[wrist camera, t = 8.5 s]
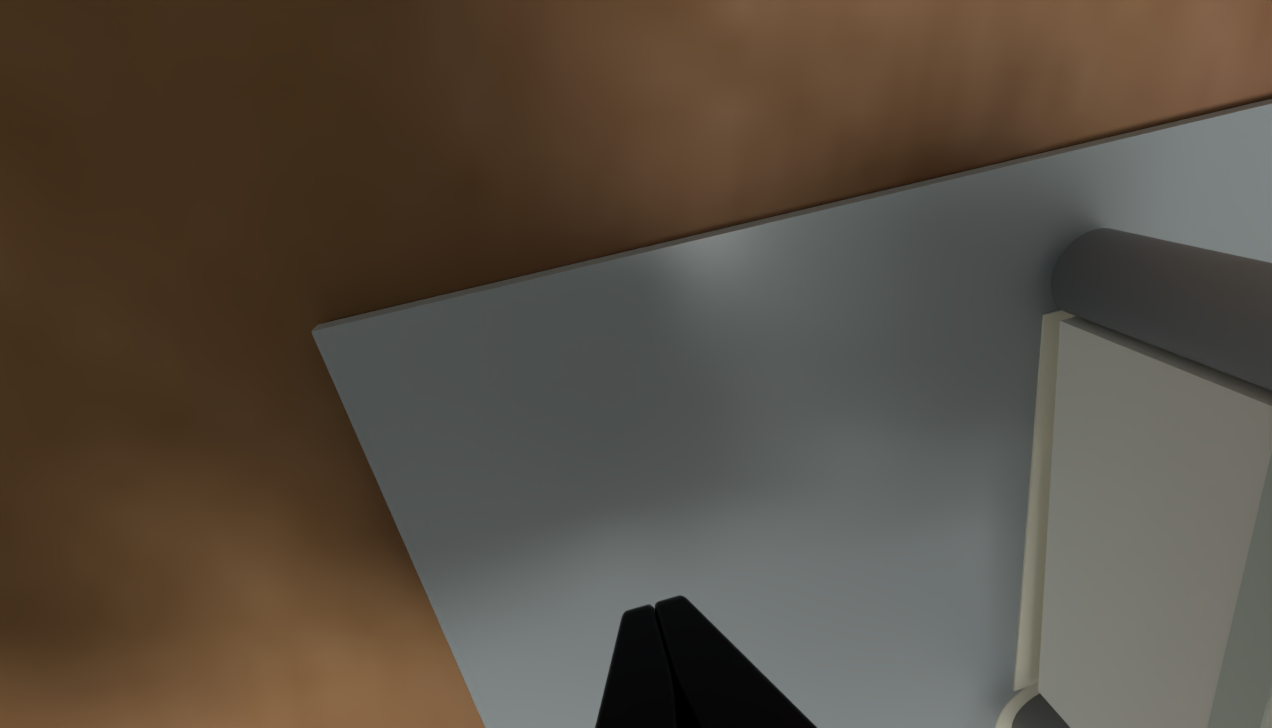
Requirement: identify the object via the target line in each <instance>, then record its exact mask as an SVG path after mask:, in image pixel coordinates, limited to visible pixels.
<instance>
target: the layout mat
mask: <svg viewBox="0 0 1272 728" xmlns="http://www.w3.org/2000/svg"><path fill="white" fill-rule="evenodd" d="M1099 228H1110V229H1115V230H1120V231H1125V232H1129V233H1134V234H1139V235H1143V236H1148V237H1153V238H1157V239H1162V240H1167V241H1171V242H1176V243H1181V244H1185V245H1190V246H1195V247H1200V248H1204V249H1209V250H1214V251H1218V252H1223V253H1228V254H1232V255H1237V256H1242V257H1246V258H1251V259H1256V260H1260V261H1265V262H1270V263H1272V99H1268V100H1264V101H1260V102H1255V103H1251V104H1247V105H1243V106H1239V107H1234V108H1230V109H1226V110H1222V111H1217V112H1213V113H1209V114H1205V115H1201V116H1196V117H1192V118H1188V119H1184V120H1179V121H1175V122H1171V123H1167V124H1163V125H1158V126H1154V127H1150V128H1146V129H1141V130H1137V131H1133V132H1129V133H1125V134H1120V135H1116V136H1112V137H1108V138H1103V139H1099V140H1095V141H1091V142H1086V143H1082V144H1078V145H1074V146H1070V147H1065V148H1061V149H1057V150H1053V151H1048V152H1044V153H1040V154H1036V155H1032V156H1027V157H1023V158H1019V159H1015V160H1010V161H1006V162H1002V163H998V164H994V165H989V166H985V167H981V168H977V169H972V170H968V171H964V172H960V173H955V174H951V175H947V176H943V177H939V178H934V179H930V180H926V181H922V182H917V183H913V184H909V185H905V186H901V187H896V188H892V189H888V190H884V191H879V192H875V193H871V194H867V195H863V196H858V197H854V198H850V199H846V200H841V201H837V202H833V203H829V204H824V205H820V206H816V207H812V208H808V209H803V210H799V211H795V212H791V213H786V214H782V215H778V216H774V217H770V218H765V219H761V220H757V221H753V222H748V223H744V224H740V225H736V226H732V227H727V228H723V229H719V230H715V231H710V232H706V233H702V234H698V235H694V236H689V237H685V238H681V239H677V240H672V241H668V242H664V243H660V244H655V245H651V246H647V247H643V248H639V249H634V250H630V251H626V252H622V253H617V254H613V255H609V256H605V257H601V258H596V259H592V260H588V261H584V262H579V263H575V264H571V265H567V266H563V267H558V268H554V269H550V270H546V271H541V272H537V273H533V274H529V275H524V276H520V277H516V278H512V279H508V280H503V281H499V282H495V283H491V284H486V285H482V286H478V287H474V288H470V289H465V290H461V291H457V292H453V293H448V294H444V295H440V296H436V297H432V298H427V299H423V300H419V301H415V302H410V303H406V304H402V305H398V306H394V307H389V308H385V309H381V310H377V311H372V312H368V313H364V314H360V315H355V316H351V317H347V318H343V319H339V320H334V321H330V322H326V323H322V324H317V326H316V327H315V328H314V329H313V330H312V331H311V333H312V335H313V337H314V339H315V342H316V344H317V346H318V348H319V351H320V353H321V355H322V358H323V360H324V362H325V364H326V367H327V369H328V371H329V373H330V376H331V378H332V380H333V383H334V385H335V387H336V389H337V392H338V394H339V396H340V398H341V401H342V403H343V405H344V408H345V410H346V412H347V414H348V417H349V419H350V421H351V423H352V426H353V428H354V430H355V433H356V435H357V437H358V439H359V442H360V444H361V446H362V448H363V451H364V453H365V455H366V458H367V460H368V462H369V464H370V467H371V469H372V471H373V473H374V476H375V478H376V480H377V483H378V485H379V487H380V489H381V492H382V494H383V496H384V498H385V501H386V503H387V505H388V508H389V510H390V512H391V514H392V517H393V519H394V521H395V523H396V526H397V528H398V530H399V533H400V535H401V537H402V539H403V542H404V544H405V546H406V548H407V551H408V553H409V555H410V558H411V560H412V562H413V564H414V567H415V569H416V571H417V573H418V576H419V578H420V580H421V583H422V585H423V587H424V589H425V592H426V594H427V596H428V598H429V601H430V603H431V605H432V608H433V610H434V612H435V614H436V617H437V619H438V621H439V624H440V626H441V628H442V630H443V633H444V635H445V637H446V639H447V642H448V644H449V646H450V649H451V651H452V653H453V655H454V658H455V660H456V662H457V664H458V667H459V669H460V671H461V674H462V676H463V678H464V680H465V683H466V685H467V687H468V689H469V692H470V694H471V696H472V699H473V701H474V703H475V705H476V708H477V710H478V712H479V714H480V717H481V719H482V721H483V724H484V726H485V728H595V725H596V721H597V717H598V713H599V709H600V705H601V700H602V696H603V692H604V688H605V684H606V680H607V676H608V671H609V667H610V663H611V659H612V655H613V651H614V646H615V642H616V638H617V634H618V630H619V626H620V621H621V618H622V615H623V613H624V612H625V611H626V610H629V609H633V608H636V607H640V606H643V605H647V604H650V605H652V606H653V607H654V609H655V604H656V603H657V602H658V601H661V600H664V599H668V598H671V597H675V596H679V595H682V596H684V597H686V598H687V599H688V600H689V601H690V602H691V603H692V604H693V605H694V606H695V607H696V608H697V609H698V610H699V611H700V612H701V613H702V614H703V615H704V616H705V617H706V618H707V619H708V620H709V621H710V622H711V623H712V624H713V625H714V626H715V627H716V628H717V629H718V630H719V631H720V632H721V633H722V634H723V635H724V636H725V637H727V638H728V639H729V640H730V641H731V642H732V643H733V644H734V645H735V646H736V647H737V648H738V649H739V650H740V651H741V652H742V653H743V654H744V655H745V656H746V657H747V658H748V659H749V660H750V661H751V662H752V663H753V664H754V665H755V666H756V667H757V668H758V669H759V670H760V671H761V672H762V673H763V674H764V675H765V676H766V677H767V678H768V679H769V680H770V681H771V682H772V683H773V684H774V685H775V686H776V687H777V688H778V689H779V690H780V691H781V692H782V693H783V694H784V695H785V696H786V697H787V698H788V699H789V700H790V701H791V702H792V703H793V704H794V705H795V706H796V707H797V708H798V709H799V710H800V711H801V712H802V713H803V714H804V715H805V716H806V717H807V718H808V719H809V720H810V721H811V722H812V723H813V724H814V725H815V726H816V727H817V728H1012V723H1013V720H1014V718H1015V716H1016V714H1017V712H1018V711H1019V710H1020V708H1021V707H1022V706H1023V705H1024V704H1025V703H1027V702H1028V701H1029V700H1030V699H1032V698H1033V697H1035V696H1036V695H1038V694H1040V693H1039V692H1038V681H1039V664H1040V648H1041V631H1042V614H1043V597H1044V581H1045V564H1046V547H1047V530H1048V514H1049V497H1050V480H1051V463H1052V446H1053V430H1054V413H1055V396H1056V379H1057V363H1058V346H1059V329H1060V321H1061V320H1065V319H1068V318H1072V317H1075V315H1072V314H1070V313H1067V312H1065V311H1063V310H1061V309H1060V308H1059V307H1058V306H1057V305H1056V303H1055V302H1054V300H1053V297H1052V293H1051V278H1052V274H1053V271H1054V268H1055V265H1056V263H1057V261H1058V260H1059V258H1060V256H1061V255H1062V253H1063V252H1064V251H1065V249H1066V248H1067V247H1068V246H1069V245H1070V244H1071V243H1072V242H1073V241H1074V240H1076V239H1077V238H1078V237H1080V236H1081V235H1083V234H1085V233H1087V232H1089V231H1092V230H1095V229H1099Z"/></svg>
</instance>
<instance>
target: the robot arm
mask: <svg viewBox="0 0 1272 728" xmlns="http://www.w3.org/2000/svg"><path fill="white" fill-rule="evenodd" d="M595 728H817V727H816V726H815V725H814V724H813V723H812V722H811V721H810V720H809V719H808V718H807V717H806V716H805V715H804V714H803V713H802V712H801V711H800V710H799V709H798V708H797V707H796V706H795V705H794V704H793V703H792V702H791V701H790V700H789V699H788V698H787V697H786V696H785V695H784V694H783V693H782V692H781V691H780V690H779V689H778V688H777V687H776V686H775V685H774V684H773V683H772V682H771V681H770V680H769V679H768V678H767V677H766V676H765V675H764V674H763V673H762V672H761V671H760V670H759V669H758V668H757V667H756V666H755V665H754V664H753V663H752V662H751V661H750V660H749V659H748V658H747V657H746V656H745V655H744V654H743V653H742V652H741V651H740V650H739V649H738V648H737V647H736V646H735V645H734V644H733V643H732V642H731V641H730V640H729V639H728V638H727V637H725V636H724V635H723V634H722V633H721V632H720V631H719V630H718V629H717V628H716V627H715V626H714V625H713V624H712V623H711V622H710V621H709V620H708V619H707V618H706V617H705V616H704V615H703V614H702V613H701V612H700V611H699V610H698V609H697V608H696V607H695V606H694V605H693V604H692V603H691V602H690V601H689V600H688V599H687V598H686V597H684V596H682V595H679V596H675V597H671V598H668V599H664V600H661V601H658V602H657V603H656V604H655V609H654V607H653V606H652V605H650V604H647V605H643V606H640V607H636V608H633V609H629V610H626V611H625V612H624V613H623V615H622V618H621V621H620V626H619V630H618V634H617V638H616V642H615V646H614V651H613V655H612V659H611V663H610V667H609V671H608V676H607V680H606V684H605V688H604V692H603V696H602V700H601V705H600V709H599V713H598V717H597V721H596V725H595Z"/></svg>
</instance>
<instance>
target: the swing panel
mask: <svg viewBox="0 0 1272 728" xmlns="http://www.w3.org/2000/svg"><path fill="white" fill-rule="evenodd" d="M1051 293H1052V297H1053V300H1054V302H1055V303H1056V305H1057V306H1058V307H1059V308H1060V309H1061V310H1063V311H1065V312H1067V313H1070V314H1072V315H1075V317H1072V318H1068V319H1065V320H1061V321H1060V329H1059V346H1058V363H1057V379H1056V396H1055V413H1054V430H1053V446H1052V463H1051V480H1050V497H1049V514H1048V530H1047V547H1046V564H1045V581H1044V597H1043V614H1042V631H1041V648H1040V664H1039V681H1038V692H1039V693H1040V694H1041V695H1042V696H1043V697H1044V698H1045V700H1046V701H1047V702H1048V703H1049V704H1050V705H1051V706H1052V707H1053V709H1054V710H1055V711H1056V712H1057V713H1058V714H1059V715H1060V717H1061V718H1062V719H1063V720H1064V721H1065V722H1066V723H1067V724H1068V726H1069V727H1070V728H1272V263H1270V262H1265V261H1260V260H1256V259H1251V258H1246V257H1242V256H1237V255H1232V254H1228V253H1223V252H1218V251H1214V250H1209V249H1204V248H1200V247H1195V246H1190V245H1185V244H1181V243H1176V242H1171V241H1167V240H1162V239H1157V238H1153V237H1148V236H1143V235H1139V234H1134V233H1129V232H1125V231H1120V230H1115V229H1110V228H1099V229H1095V230H1092V231H1089V232H1087V233H1085V234H1083V235H1081V236H1080V237H1078V238H1077V239H1076V240H1074V241H1073V242H1072V243H1071V244H1070V245H1069V246H1068V247H1067V248H1066V249H1065V251H1064V252H1063V253H1062V255H1061V256H1060V258H1059V260H1058V261H1057V263H1056V265H1055V268H1054V271H1053V274H1052V278H1051Z"/></svg>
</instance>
